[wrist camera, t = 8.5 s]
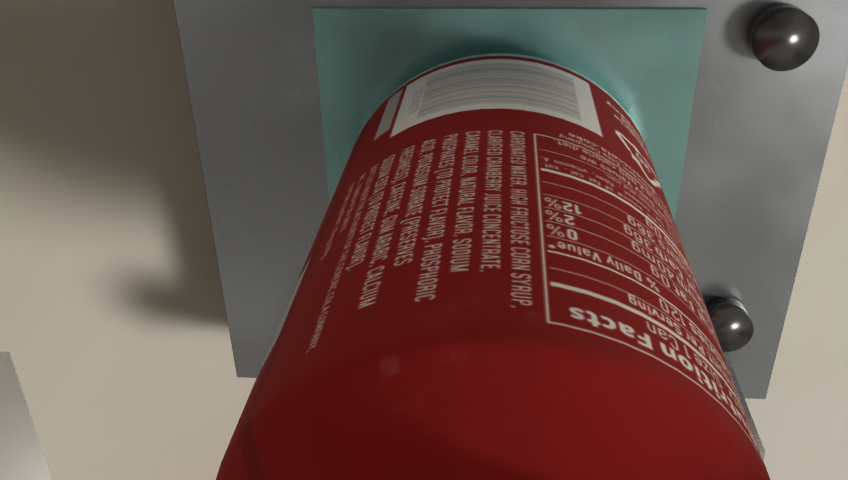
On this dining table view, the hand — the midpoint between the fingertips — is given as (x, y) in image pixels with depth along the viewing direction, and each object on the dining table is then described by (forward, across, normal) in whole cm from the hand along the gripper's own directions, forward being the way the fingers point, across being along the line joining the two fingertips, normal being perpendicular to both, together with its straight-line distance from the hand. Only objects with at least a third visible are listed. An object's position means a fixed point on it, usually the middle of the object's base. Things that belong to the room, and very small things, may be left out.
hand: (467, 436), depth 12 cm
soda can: (+8, 0, 0) cm, 8 cm away
